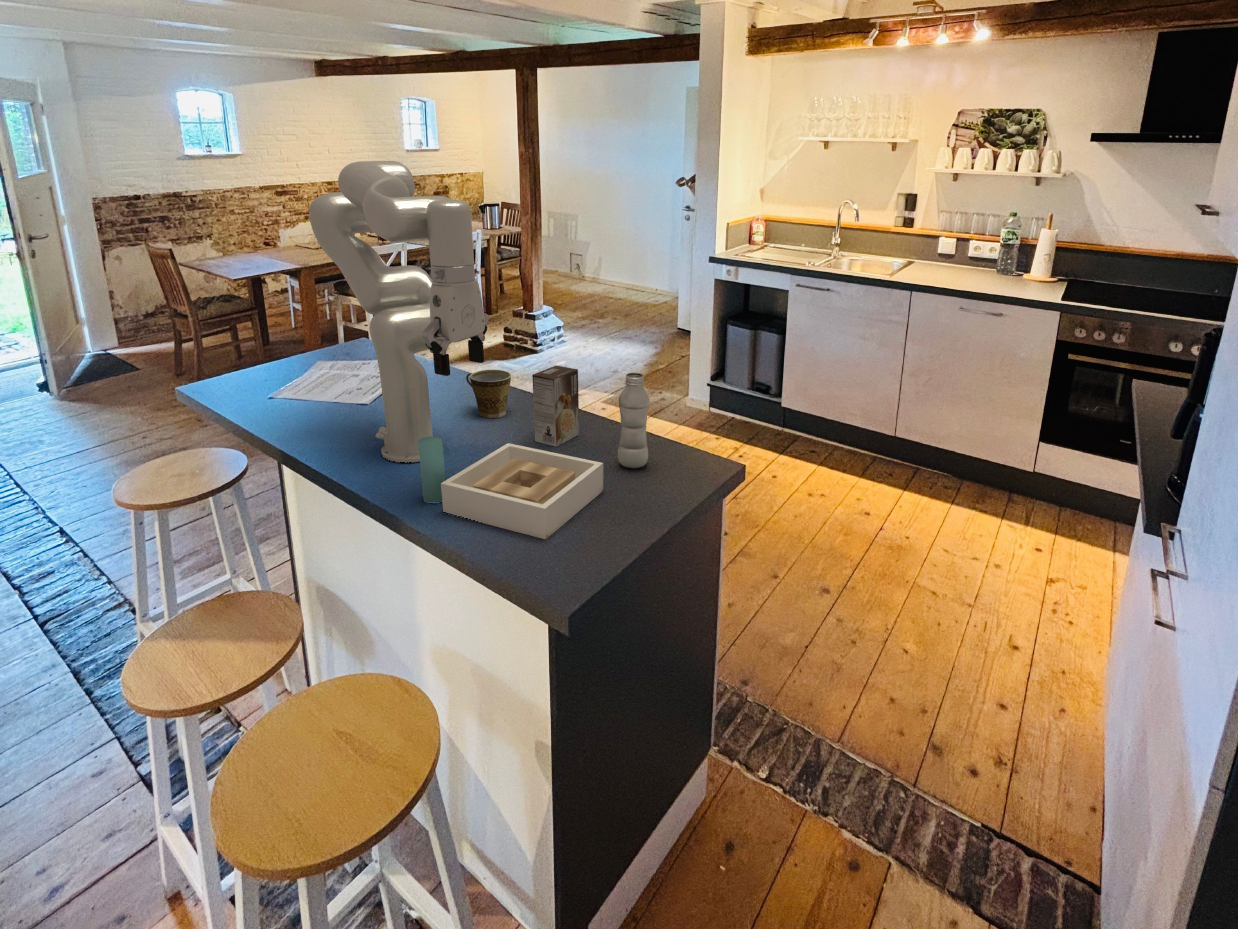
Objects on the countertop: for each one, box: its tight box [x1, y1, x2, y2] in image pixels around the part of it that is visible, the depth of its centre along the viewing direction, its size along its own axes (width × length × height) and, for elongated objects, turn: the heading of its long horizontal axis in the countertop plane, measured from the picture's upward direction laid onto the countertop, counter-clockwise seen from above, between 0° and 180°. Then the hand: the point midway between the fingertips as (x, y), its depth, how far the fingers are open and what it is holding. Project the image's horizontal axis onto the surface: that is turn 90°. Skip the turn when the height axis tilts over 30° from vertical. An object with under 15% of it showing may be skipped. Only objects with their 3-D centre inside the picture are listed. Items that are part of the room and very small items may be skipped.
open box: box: [441, 443, 604, 540], centre depth 145 cm, size 22×22×6 cm
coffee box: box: [531, 365, 580, 448], centre depth 173 cm, size 9×6×16 cm
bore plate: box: [472, 459, 575, 504], centre depth 145 cm, size 14×14×4 cm
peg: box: [418, 435, 447, 502], centre depth 144 cm, size 4×4×12 cm
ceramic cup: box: [465, 369, 512, 419], centre depth 189 cm, size 13×10×10 cm
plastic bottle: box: [617, 372, 651, 469], centre depth 158 cm, size 6×7×20 cm
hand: (460, 368), depth 141 cm, fingers open, 9 cm apart
